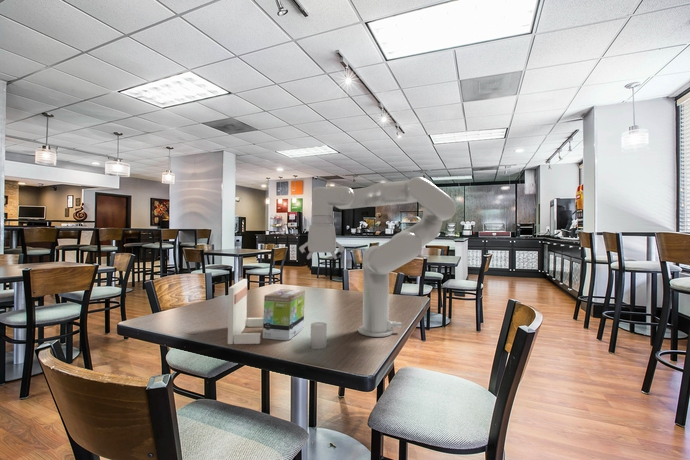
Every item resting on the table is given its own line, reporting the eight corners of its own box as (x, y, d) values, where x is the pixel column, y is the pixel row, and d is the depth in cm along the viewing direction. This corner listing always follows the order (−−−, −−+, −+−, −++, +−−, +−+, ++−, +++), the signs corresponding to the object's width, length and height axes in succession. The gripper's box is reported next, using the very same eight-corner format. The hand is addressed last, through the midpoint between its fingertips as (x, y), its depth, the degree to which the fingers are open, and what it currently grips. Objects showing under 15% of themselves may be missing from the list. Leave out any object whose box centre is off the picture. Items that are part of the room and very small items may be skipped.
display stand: (268, 325, 126) (269, 278, 126) (259, 343, 105) (260, 287, 105) (242, 325, 125) (243, 278, 125) (227, 344, 104) (228, 287, 104)
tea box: (290, 341, 108) (290, 296, 108) (261, 339, 110) (262, 295, 110) (304, 328, 122) (305, 289, 123) (279, 326, 124) (280, 288, 125)
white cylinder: (326, 343, 106) (326, 322, 106) (326, 348, 101) (326, 326, 101) (310, 343, 105) (311, 322, 106) (310, 349, 100) (310, 326, 101)
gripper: (345, 222, 122) (344, 268, 122) (298, 221, 121) (298, 268, 120) (347, 221, 115) (346, 271, 115) (297, 220, 113) (296, 271, 113)
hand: (321, 269), depth 118 cm, fingers open, 7 cm apart
